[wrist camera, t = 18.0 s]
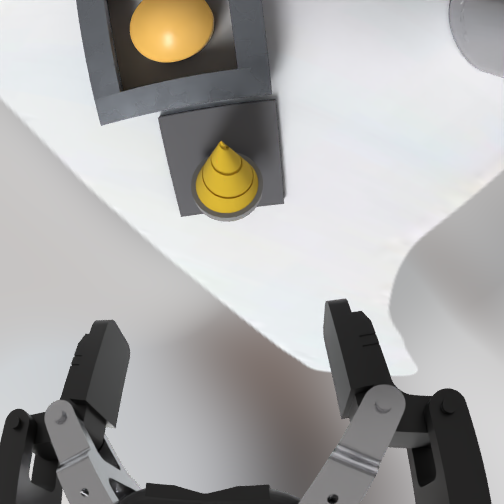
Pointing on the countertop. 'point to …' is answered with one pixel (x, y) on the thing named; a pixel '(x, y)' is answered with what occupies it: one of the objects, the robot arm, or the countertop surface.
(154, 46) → the button
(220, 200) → the ridged yellow cone
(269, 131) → the rest mat
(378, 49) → the countertop surface
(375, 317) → the countertop surface
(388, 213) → the countertop surface
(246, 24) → the grey open box
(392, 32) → the countertop surface
